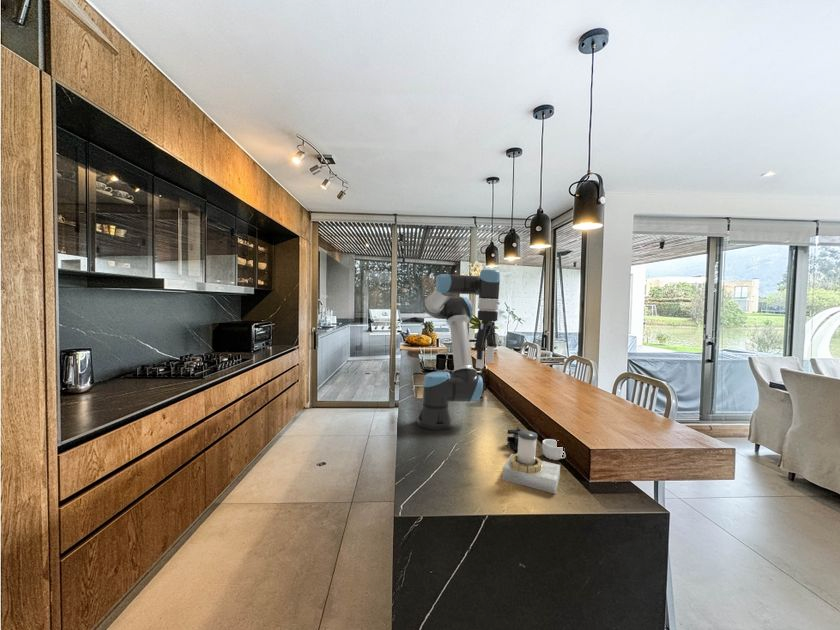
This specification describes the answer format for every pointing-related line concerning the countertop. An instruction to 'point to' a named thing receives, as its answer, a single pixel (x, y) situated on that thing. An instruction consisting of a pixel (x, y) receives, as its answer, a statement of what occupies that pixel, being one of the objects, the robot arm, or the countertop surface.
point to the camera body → (532, 474)
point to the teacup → (552, 449)
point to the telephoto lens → (526, 447)
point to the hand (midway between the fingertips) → (484, 365)
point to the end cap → (513, 439)
